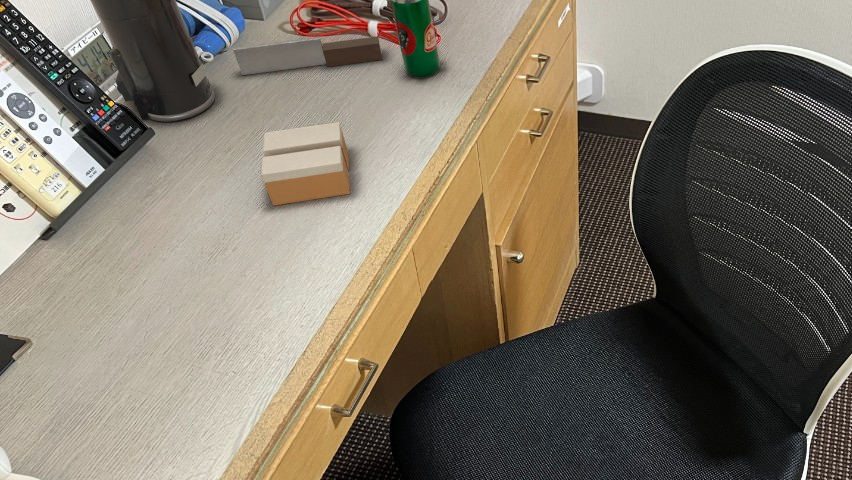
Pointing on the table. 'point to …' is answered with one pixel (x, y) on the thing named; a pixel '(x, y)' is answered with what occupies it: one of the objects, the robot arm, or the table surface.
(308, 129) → the cake
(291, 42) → the knife
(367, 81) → the table surface
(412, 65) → the soda can
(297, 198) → the cake slice
